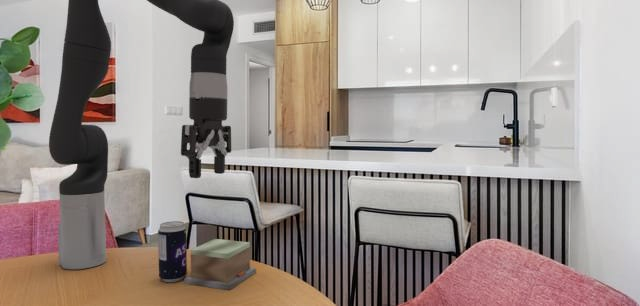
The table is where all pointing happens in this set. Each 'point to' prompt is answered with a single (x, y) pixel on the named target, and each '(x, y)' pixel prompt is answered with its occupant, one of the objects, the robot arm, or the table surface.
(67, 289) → the table surface
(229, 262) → the block
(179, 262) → the beverage can
